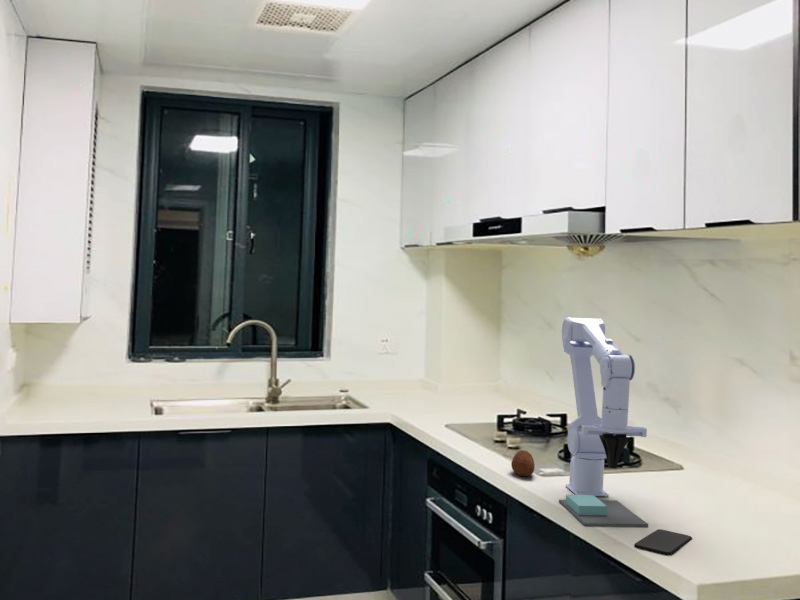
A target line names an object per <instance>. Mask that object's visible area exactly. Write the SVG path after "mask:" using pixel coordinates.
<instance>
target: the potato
mask: <svg viewBox="0 0 800 600" xmlns="http://www.w3.org/2000/svg"><path fill="white" fill-rule="evenodd" d="M510 467H511V469H512V471H513V472H514V473H515V474H517V476H520V477H529V476H530V477H531V476H532V475H533V474H534V471H535V460H534V458H533V456H532V454H531V452H529V451H527V450H524V449H522V450H518V451H517V452H515V454H514V455H513V458H512V459H511V466H510Z"/></svg>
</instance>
